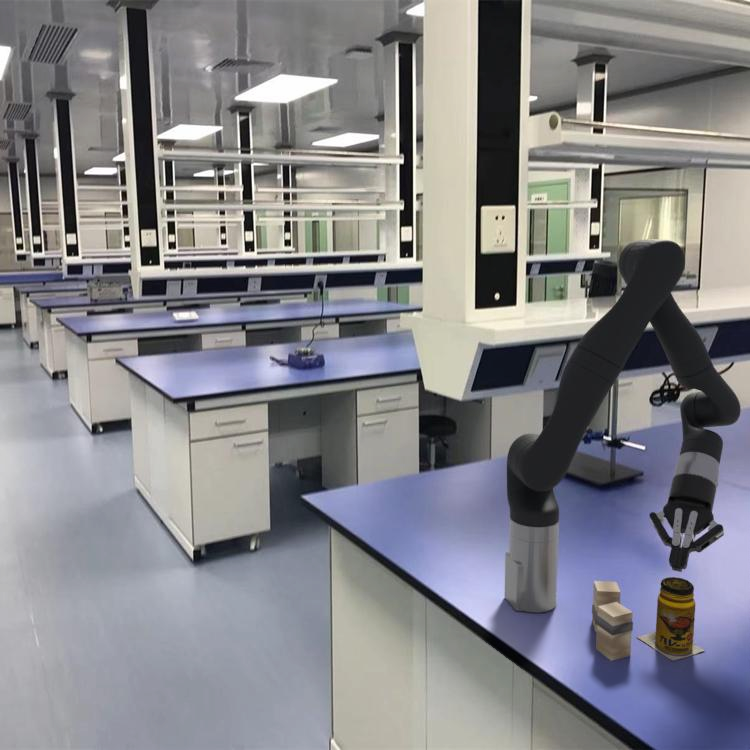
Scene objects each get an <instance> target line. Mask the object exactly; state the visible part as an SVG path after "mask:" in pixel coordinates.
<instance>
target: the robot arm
mask: <svg viewBox="0 0 750 750" xmlns="http://www.w3.org/2000/svg"><path fill="white" fill-rule="evenodd" d="M620 252H621V253H620V255H619V257H618V269H619V273H620V276H621V278H622V279H623V281H624V283H625V284H626V286H625V287H624V290H623V291H622V293H621V295H620V296H619V298H618V299H617V301H616V302H615V304H614V305H613V306H612V307H611V308H610V309H609V310H608V311H607V312H606V313H605V314H604V315H603V316H602V317H601V318H599V319H598V321H597V322H595V324H593V325H592V327H590V328H589V329H588V330H587V332H585V334H584V335H583V336H582V337H581V338H580V339H579V341H578V343H577V345H576V347H575V348H574V350H573V352H572V353H571V355H570V356H569V358H568V360H567V362H566V364H565V366H564V368H563V370H562V374H561V377H560V381H559V384H558V389H557V390H558V391H557V394H556V395H557V396H556V400H555V403H554V407H553V411H552V413H551V415H550V417H549V419H548V420H547V423H546V424H545V426H544V427H543V429H542V431H541V432H540V434H537V433H524V434H522V435H521V436H518V437H517V438H516V439H514V440H513V442H512V443H511V445H510V447H509V450H508V451H507V457H506V496H507V503H508V506H509V546H508V547H509V550H508V551H506V552H505V555H504V557H505V559H504V560H505V561H504V598H505V600H506V601H507V602H508V603H509V604H510V605H511V607H512V608H513V609H514V610H515V612H526V613H545V612H546V613H547V612H549V611H552V610H553V609H555V607H556V606H557V596H558V591H557V590H558V588H557V587H558V560H559V557H558V556H559V535H560V531H559V528H560V507H559V504H558V502H557V499H556V496H555V491H554V488H555V487H557V486H558V485H559V484H560V483H561V482H562V480H563V479H564V477H565V476H566V474H567V473H568V471H569V468H570V466H571V464H572V462H573V459H574V458H575V455H576V452H577V451H578V448H579V446H580V443H581V442H582V440H583V438H584V435H585V433H586V431H587V429H588V427H590V424H591V423H592V421H593V419H594V418H595V416H596V415H597V412H598V410H599V409H600V407H601V405H602V404H603V402H604V400H605V399H606V397H607V395H608V393H609V391H611V389H612V388H613V385H614V384H615V382H616V380H617V379H618V377H619V376H620V373H622V370H623V369H624V367H625V365H626V363H627V360H629V358H630V356H631V354H632V352H633V351H634V349H635V347H636V346H637V344H638V342H639V340H640V339H641V337H642V336H643V334H644V331H646V328H647V327H648V325H649V323H650V324H651V326H652V329H653V331H654V332H655V334H656V337H657V339H658V340H659V343H660V344H661V346H662V349H663V351H664V353H665V355H666V358H667V360H668V364H669V366H670V367H671V369H672V373H673V374H674V377H675V379H676V381H677V383H678V385H680V387H682V388H686V389H689V390H690V389H691V390H697V392H691V393H688V394H687V395H686V396H685V397H684V398H683V400H682V401H681V403H680V407H679V408H680V417H681V426H682V428H681V429H682V443H681V447H680V451H679V456H678V460H677V462H676V464H675V468H674V472H673V476H672V482H671V484H670V485H671V486H670V490H669V495H668V499H667V502H666V504H665V505H664V506H663V508H662V510H661V511H659V512H653V511H652V512H650V513H649V520H650V522H651V524H652V526H653V527H654V529H655V531H656V534H657V535H658V536H659V537H660V540H661V541H662V543H663V545H664V546H665V547H668V548H669V547H670V552H669V553H670V554H669V558H668V562H669V566H670V567H671V569H672V571H675V572H680V573H682V571H683V570H686V569H687V567H688V563H689V558H690V554H691V553H693V552H696V553H701V552H703V551H704V550H705V549H707V548H708V547H710V546H711V545H712V544H715V543H716V541H718V540H719V539H721V538H722V537H723V536H724V534H725V530H724V526H723V525H722V524H720V523H719V524H718V523H717V522H716V521H715V518H714V517H715V516H714V514H713V508H714V503H715V498H716V494H717V488H718V486H719V477H720V476H719V474H720V464H721V463H720V462H721V458H722V452H723V448H724V447H723V446H724V441H723V438H722V436H721V435H719V433H717V432H715V431H714V430H710V429H706V428H713V427H714V428H715V427H725V426H731V425H734V424H736V422H737V421H738V420H739V419H740V416H741V411H742V410H741V402H740V400H739V398H738V396H737V394H736V393H735V391H734V390H733V389H732V388H731V386H730V385H729V384H728V383H727V382H726V381H725V379H724V378H723V377H722V375H721V374H720V373H719V372H718V370H717V369H716V368H715V366H714V364H713V361H712V359H711V357H710V354H709V351H708V349H707V347H706V345H705V343H704V341H703V338H702V337H701V335H700V334H699V332H698V331H697V329H696V328H695V325H693V323H692V322H691V321H690V320H689V318H688V317H687V316H686V315H685V313H684V312H683V310H682V309H681V307H680V306H679V305H678V303H677V302H676V300H675V298H674V296H673V293H672V291H673V290H674V289H675V287H676V286H677V284H678V283H679V281H680V279H681V278H682V275H683V274H684V273H683V272H684V271H685V266H686V257H685V253H684V251H683V248H682V247H681V246H680V245H679V244H678V243H676V242H675V241H672V240H669V239H659V238H658V239H657V238H653V239H651V238H648V239H646V238H645V239H638V240H634V241H631V242H629V243H627V245H626V246H625V247H624V248H623V249H622V251H620ZM665 519H666V521H667V524H668V525H669V527H670V528H671V530H672V536H670V535H669V533H668V532H667V530H666V528H665V527H664V524H665ZM706 529H707V532H705V533H704V534H702V535H701V536H700V537H698V538H697V539H696V537H697V536H696V535H699V534H701V533H702V532H704V530H706ZM683 535H684V536H683ZM695 539H696V540H695Z"/></svg>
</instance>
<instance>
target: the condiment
mask: <svg viewBox="0 0 750 750" xmlns="http://www.w3.org/2000/svg"><path fill="white" fill-rule="evenodd" d="M694 590H695V587H694V584H693V583H691V582H690V581H689V580H687V579H685V578H682V577H675V576H672V577H671V576H670V577H665V578H662V579H661V581H660V588H659V593H658V595H657V600H656V601H657V605H656V606H657V607H656V622H655V631H653V632H650V633H646V634H643V635H639V636H637V637H636V638H638V639H639V640H641V641H642V642H644V643H646V644H647V645H648V646H650V647H651V648H653V649H654V650H655V651H657V652H658V653H659V654H662V656H664V657H666V658H667V659H669V660H671V661H673V662H674V661H678V660H680V659H685V658H688V657H690V656H691V657H692V656H695V655H697V654H699V653H701V652H705V649H703V648H702V647H700V646H698V645H696V644H695V643H694V636H695V635H694V634H695V633H694V632H695V630H694V629H695V618H696V617H695V616H696V601H695V599H694V595H695V593H694Z"/></svg>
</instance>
